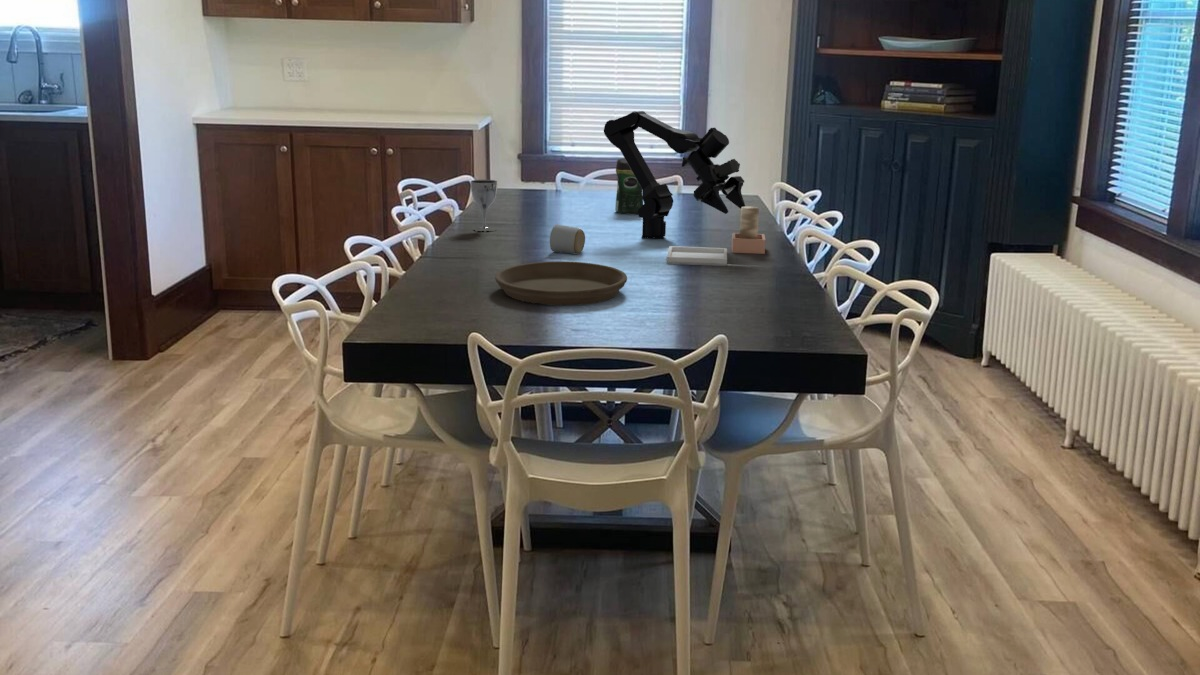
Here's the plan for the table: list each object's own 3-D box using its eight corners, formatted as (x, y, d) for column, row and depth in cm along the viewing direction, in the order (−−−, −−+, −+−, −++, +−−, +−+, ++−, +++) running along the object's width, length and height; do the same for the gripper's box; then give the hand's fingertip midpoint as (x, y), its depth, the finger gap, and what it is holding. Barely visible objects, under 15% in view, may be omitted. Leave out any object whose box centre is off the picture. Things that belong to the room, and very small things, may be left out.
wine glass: (466, 231, 338) (466, 181, 334) (479, 227, 345) (478, 179, 341) (489, 233, 335) (489, 183, 331) (501, 229, 342) (501, 180, 338)
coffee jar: (641, 210, 383) (643, 156, 378) (644, 214, 375) (645, 159, 370) (613, 210, 382) (615, 156, 377) (615, 214, 374) (617, 159, 369)
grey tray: (666, 263, 295) (666, 257, 295) (669, 252, 310) (669, 246, 310) (726, 266, 294) (727, 259, 293) (726, 254, 309) (726, 248, 308)
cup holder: (731, 254, 309) (732, 238, 308) (731, 248, 318) (732, 233, 317) (764, 255, 308) (765, 239, 307) (763, 249, 317) (764, 234, 316)
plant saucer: (580, 315, 240) (580, 295, 239) (468, 296, 256) (467, 277, 255) (650, 289, 266) (651, 271, 265) (544, 273, 282) (544, 256, 280)
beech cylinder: (739, 251, 311) (741, 208, 308) (738, 248, 316) (741, 206, 312) (757, 251, 310) (759, 209, 307) (756, 248, 315) (758, 206, 312)
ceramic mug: (576, 256, 303) (576, 228, 301) (548, 253, 306) (549, 226, 304) (590, 250, 312) (591, 223, 310) (563, 248, 315) (564, 221, 313)
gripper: (704, 152, 305) (736, 196, 301) (740, 147, 319) (771, 189, 315) (679, 178, 311) (711, 221, 308) (715, 172, 326) (746, 214, 322)
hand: (736, 211), depth 313 cm, fingers open, 9 cm apart
